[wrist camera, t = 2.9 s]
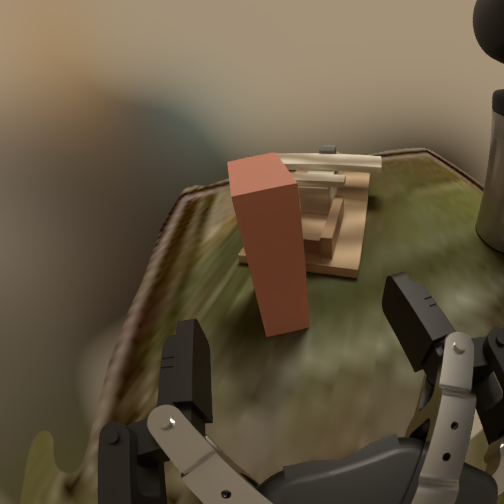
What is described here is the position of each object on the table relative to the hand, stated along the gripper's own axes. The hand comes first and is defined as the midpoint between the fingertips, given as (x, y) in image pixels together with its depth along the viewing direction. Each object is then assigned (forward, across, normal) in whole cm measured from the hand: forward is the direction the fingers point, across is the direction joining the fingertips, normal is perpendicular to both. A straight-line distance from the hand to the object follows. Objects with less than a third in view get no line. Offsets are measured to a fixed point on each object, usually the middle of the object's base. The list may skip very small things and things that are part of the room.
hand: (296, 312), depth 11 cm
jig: (+29, -10, +12) cm, 33 cm away
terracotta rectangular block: (+12, 0, +12) cm, 17 cm away
